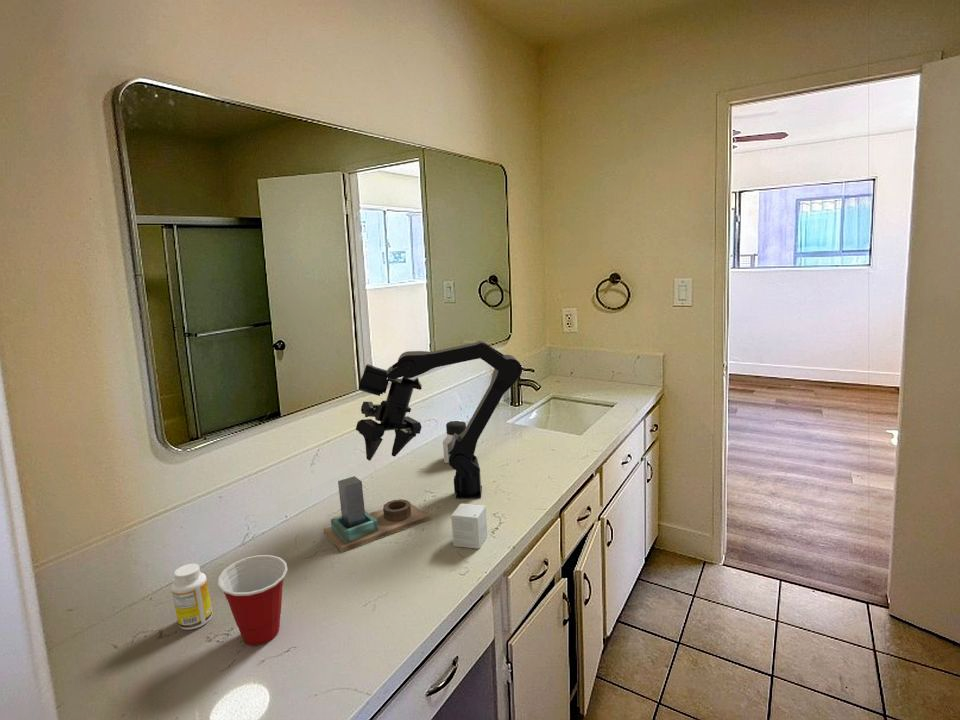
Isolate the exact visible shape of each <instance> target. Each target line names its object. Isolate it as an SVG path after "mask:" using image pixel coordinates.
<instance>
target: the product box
mask: <svg viewBox="0 0 960 720" xmlns="http://www.w3.org/2000/svg"><path fill="white" fill-rule="evenodd" d="M450 518H451V530H452V541H453V547H460V548H469V549H478V550H479V549H480V548H481V547H482V546H483V544H484V542H485V541H486V538H487V536H488V523H487V522H488V521H487V520H488V519H487V507H486V505H482V504H481V505H479V504H470V503H469V504H467V503H460V504H459V505H458V506H457V507H456V509H455V510H454V511H453V513H452V514H451V516H450Z"/></svg>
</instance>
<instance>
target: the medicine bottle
mask: <svg viewBox="0 0 960 720" xmlns="http://www.w3.org/2000/svg"><path fill="white" fill-rule="evenodd" d="M466 427H467V423H466V422H465V421H464V420H459V419H455V420H451V421H450V420H449V421H448V422H447V423H446V424H445V429H446V436H445V438H444V439H443V441H442V446H443V448H442V449H443V461H444V463H445V464H449V460H448V446H447V445H448V444H449V443H450V442H451V440H452V438H453V435H454V433H456V434H457V435H460V434H461V433H462V432H463V431H464V430H465V428H466Z"/></svg>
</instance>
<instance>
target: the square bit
mask: <svg viewBox="0 0 960 720" xmlns="http://www.w3.org/2000/svg"><path fill="white" fill-rule="evenodd" d="M337 484H338V485H337V486H338V494H339V495H338V497H339V502H340V512H341V516H342V523H343V526H344V527H345V528H346V529H349V528H352V527H355V526H357V525H360V524H363V523H366V518H365V511H366V509H365V508H366V507H365V499H364V491H363V481H362V480H361V479H359V478H358V477H356V476H355V475H353V476H351V477H347V478H345V479H341V480H337Z"/></svg>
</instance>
